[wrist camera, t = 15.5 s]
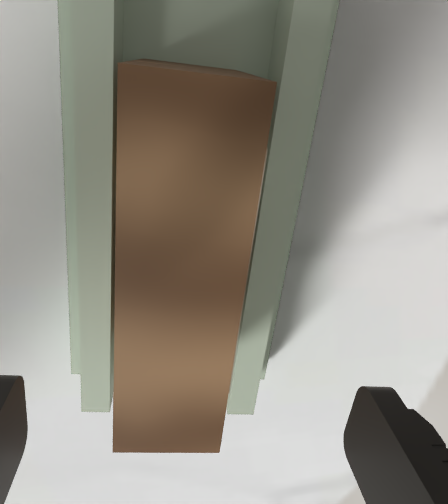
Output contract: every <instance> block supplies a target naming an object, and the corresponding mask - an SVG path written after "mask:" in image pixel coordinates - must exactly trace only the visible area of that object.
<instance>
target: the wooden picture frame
mask: <svg viewBox="0 0 448 504" xmlns="http://www.w3.org/2000/svg"><path fill="white" fill-rule="evenodd" d="M276 86H277V82H275V81H272V80H268V79H265V78H262V77H258V76H255V75H252V74H248V73H245V72H241V71H238V70H232V69H224V68H216V67H208V66H200V65H192V64H184V63H176V62H168V61H160V60H152V59H137V60H131V61H125V62H119V63H118V73H117V153H116V233H115V314H114V394H113V452H141V453H219V452H220V445H221V439H222V432H223V426H224V420H225V413H226V407H227V400H228V394H229V393H230V387H231V381H232V374H233V368H234V362H235V355H236V349H237V342H238V336H239V330H240V323H241V317H242V311H243V304H244V298H245V292H246V285H247V279H248V272H249V266H250V260H251V253H252V247H253V241H254V234H255V228H256V222H257V215H258V209H259V202H260V196H261V190H262V183H263V177H264V171H265V164H266V158H267V152H268V148H267V144H268V138H269V131H270V125H271V118H272V112H273V106H274V99H275V93H276Z"/></svg>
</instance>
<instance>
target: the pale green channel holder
mask: <svg viewBox="0 0 448 504" xmlns="http://www.w3.org/2000/svg"><path fill="white" fill-rule="evenodd" d="M339 2H340V0H58V23H59V51H60V78H61V106H62V133H63V161H64V188H65V215H66V243H67V270H68V298H69V325H70V353H71V374H81V411H82V412H110V407H111V402H112V397H113V392H114V314H115V233H116V153H117V73H118V63H119V62H125V61H131V60H137V59H152V60H160V61H168V62H176V63H184V64H192V65H200V66H208V67H216V68H224V69H232V70H238V71H241V72H245V73H248V74H252V75H255V76H258V77H262V78H265V79H268V80H272V81H275V82H277V86H276V93H275V99H274V106H273V112H272V118H271V125H270V131H269V138H268V144H267V148H268V152H267V158H266V164H265V171H264V177H263V183H262V190H261V196H260V202H259V209H258V215H257V222H256V228H255V234H254V241H253V247H252V253H251V260H250V266H249V272H248V279H247V285H246V292H245V298H244V304H243V311H242V317H241V323H240V330H239V336H238V342H237V349H236V355H235V362H234V368H233V374H232V381H231V387H230V393H229V394H228V400H227V414H250V415H253V413H254V408H255V403H256V398H257V393H258V387H259V382H260V379H264V378H265V373H266V368H267V363H268V358H269V353H270V348H271V343H272V338H273V333H274V327H275V322H276V317H277V312H278V307H279V302H280V297H281V292H282V287H283V282H284V277H285V272H286V267H287V262H288V257H289V252H290V247H291V242H292V237H293V232H294V227H295V222H296V217H297V212H298V207H299V202H300V197H301V192H302V187H303V182H304V177H305V172H306V167H307V162H308V157H309V152H310V147H311V142H312V137H313V132H314V127H315V122H316V117H317V112H318V107H319V102H320V97H321V92H322V87H323V82H324V77H325V72H326V67H327V62H328V57H329V52H330V47H331V42H332V37H333V32H334V27H335V22H336V17H337V12H338V7H339Z"/></svg>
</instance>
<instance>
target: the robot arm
mask: <svg viewBox="0 0 448 504" xmlns="http://www.w3.org/2000/svg"><path fill="white" fill-rule="evenodd" d="M27 429H28V426H27V413H26V401H25V388H24V380H23V377H22V376H12V375H0V504H4V502H5V500H6V497H7V495H8V492H9V489H10V487H11V484H12V482H13V479H14V476H15V474H16V471H17V469H18V466H19V464H20V461H21V458H22V456H23V453H24V449H25V445H26V439H27ZM344 450H345V454H346V457H347V460H348V462H349V464H350V467H351V469H352V472H353V474H354V476H355V479H356V481H357V483H358V486H359V488H360V490H361V493H362V495H363V497H364V500H365V502H366V504H448V449H447V448H446V444H445V443H444V441H443V440H442V438H441V437H440V436H439V434H438V433H437V431H436V430H435V429H434V427H433V426H432V425H431V424H430V423H429V422H428V421H426V420H425V419H424V418H423V417H422V416H421V415H420V414H418V413H417V412H416V411H415V410H414V409H407V407H406V406H405V404H404V403H403V401H402V400H401V398H400V397H399V395H398V394H397V392H396V391H395V390H394V389H393V388H391V387H367V386H362V387H360V388H359V389H358V391H357V393H356V396H355V399H354V402H353V406H352V409H351V412H350V415H349V418H348V421H347V424H346V428H345V431H344Z"/></svg>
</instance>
